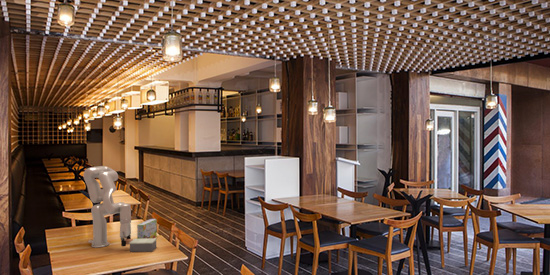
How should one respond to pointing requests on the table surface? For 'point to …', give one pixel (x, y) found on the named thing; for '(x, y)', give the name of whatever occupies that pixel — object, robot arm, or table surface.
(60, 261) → the table surface
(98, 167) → the robot arm
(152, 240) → the lid
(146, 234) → the snack box
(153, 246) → the tub
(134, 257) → the table surface
